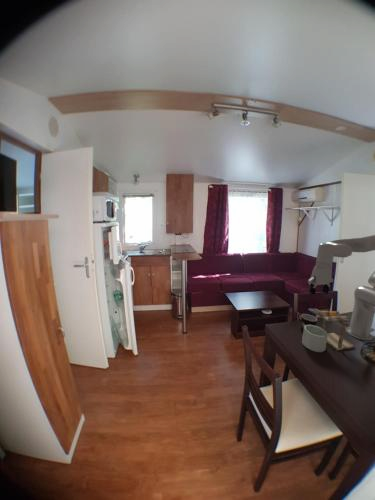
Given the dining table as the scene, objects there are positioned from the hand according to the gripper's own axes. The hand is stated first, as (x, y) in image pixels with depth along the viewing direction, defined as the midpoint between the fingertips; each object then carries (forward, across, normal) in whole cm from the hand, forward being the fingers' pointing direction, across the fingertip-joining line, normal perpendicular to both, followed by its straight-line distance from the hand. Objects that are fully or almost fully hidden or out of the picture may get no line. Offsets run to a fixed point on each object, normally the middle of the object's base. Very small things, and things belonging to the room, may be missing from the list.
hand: (318, 293), depth 109 cm
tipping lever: (+16, -5, +5) cm, 18 cm away
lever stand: (+28, -10, +7) cm, 31 cm away
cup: (+29, +6, +7) cm, 30 cm away
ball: (+10, -5, +7) cm, 13 cm away
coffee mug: (+29, -2, -6) cm, 29 cm away
